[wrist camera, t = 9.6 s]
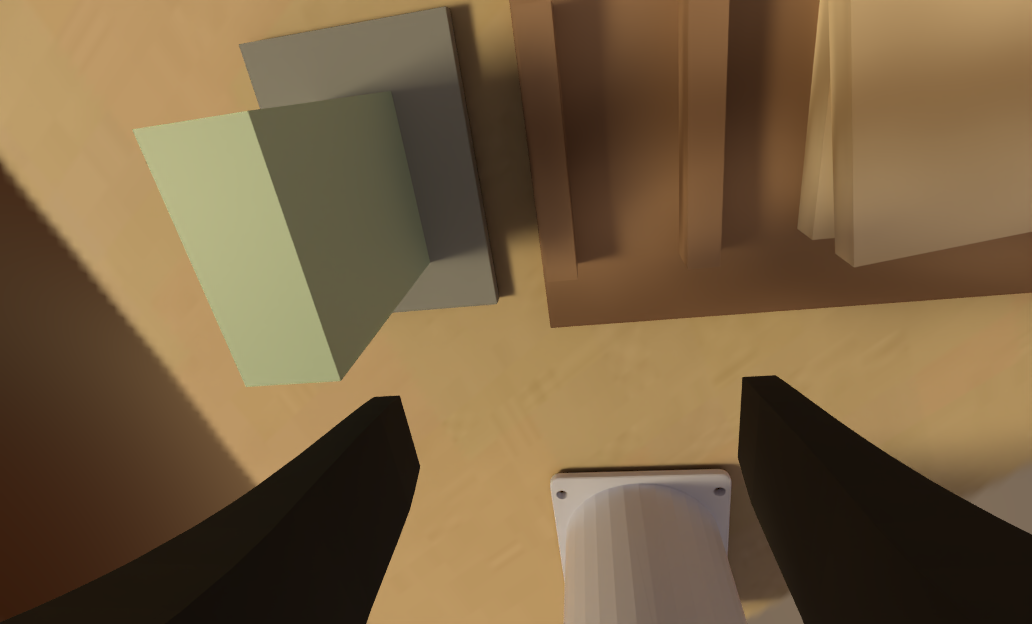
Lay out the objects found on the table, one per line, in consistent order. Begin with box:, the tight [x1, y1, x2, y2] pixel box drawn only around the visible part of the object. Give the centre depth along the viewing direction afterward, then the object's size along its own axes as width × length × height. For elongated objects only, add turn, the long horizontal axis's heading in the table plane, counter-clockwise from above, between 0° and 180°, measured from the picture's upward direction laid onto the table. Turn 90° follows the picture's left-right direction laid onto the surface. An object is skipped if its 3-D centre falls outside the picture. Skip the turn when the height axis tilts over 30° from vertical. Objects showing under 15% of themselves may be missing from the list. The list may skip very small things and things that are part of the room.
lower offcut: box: [797, 0, 835, 240], centre depth 14 cm, size 7×5×1 cm
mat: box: [239, 7, 499, 313], centre depth 18 cm, size 10×7×1 cm
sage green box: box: [132, 91, 430, 387], centre depth 14 cm, size 6×2×8 cm, turn 8°
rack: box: [509, 0, 1032, 328], centre depth 15 cm, size 13×18×2 cm
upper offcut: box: [828, 0, 1032, 267], centre depth 13 cm, size 7×5×1 cm
